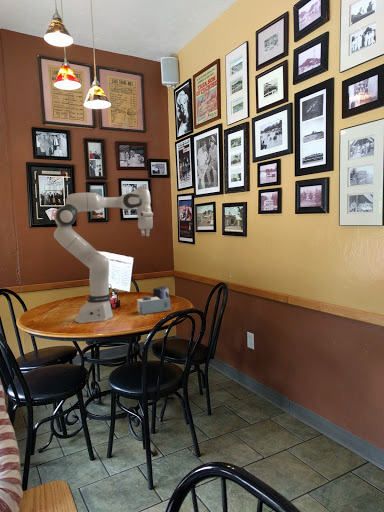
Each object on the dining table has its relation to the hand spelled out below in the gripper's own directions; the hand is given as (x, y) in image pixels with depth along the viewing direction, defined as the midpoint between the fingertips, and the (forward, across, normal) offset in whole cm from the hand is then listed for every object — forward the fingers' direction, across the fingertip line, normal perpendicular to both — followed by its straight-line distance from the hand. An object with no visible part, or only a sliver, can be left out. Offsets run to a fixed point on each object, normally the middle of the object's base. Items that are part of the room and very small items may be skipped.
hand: (145, 235), depth 225 cm
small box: (+48, -18, +14) cm, 53 cm away
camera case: (+48, +3, -1) cm, 48 cm away
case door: (+48, +8, +2) cm, 48 cm away
